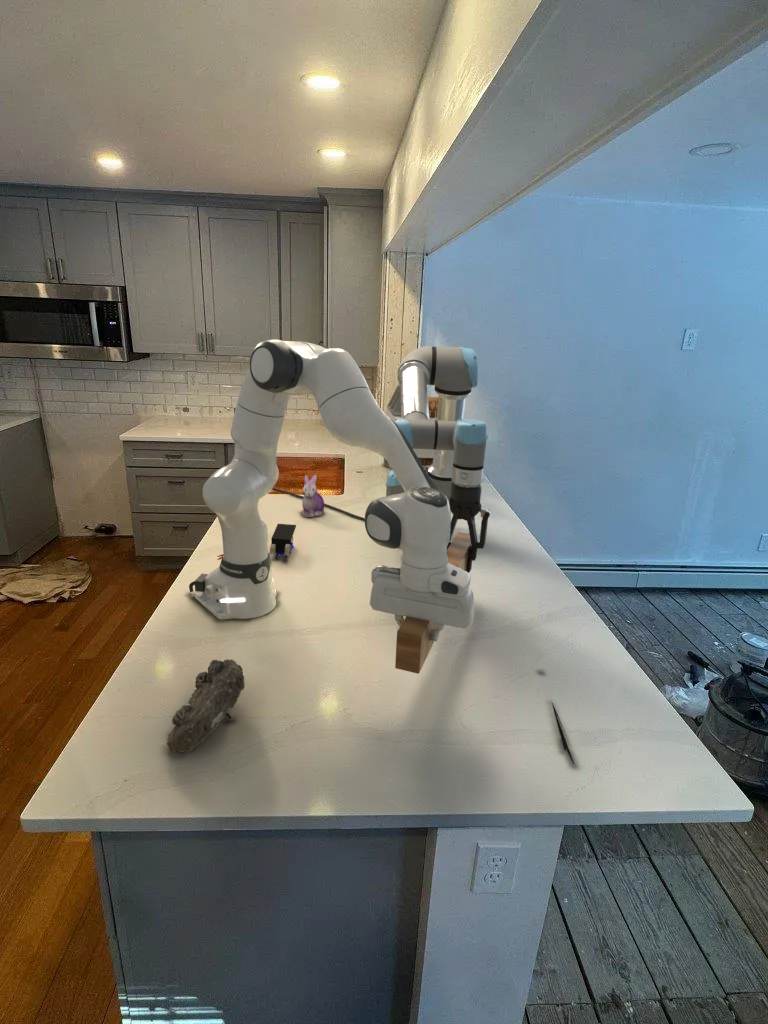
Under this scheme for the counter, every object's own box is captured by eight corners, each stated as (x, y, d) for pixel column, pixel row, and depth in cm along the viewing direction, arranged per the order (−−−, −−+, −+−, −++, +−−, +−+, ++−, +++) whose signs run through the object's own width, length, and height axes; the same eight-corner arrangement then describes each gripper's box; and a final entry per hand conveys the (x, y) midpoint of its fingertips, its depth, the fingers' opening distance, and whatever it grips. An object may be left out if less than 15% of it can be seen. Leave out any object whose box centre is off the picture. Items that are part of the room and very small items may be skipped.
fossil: (192, 660, 117) (244, 628, 112) (224, 691, 120) (276, 661, 115) (142, 746, 98) (202, 712, 93) (182, 779, 101) (242, 748, 96)
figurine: (305, 519, 209) (305, 480, 204) (296, 510, 217) (296, 472, 212) (329, 516, 213) (330, 478, 208) (319, 507, 222) (319, 470, 216)
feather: (541, 676, 126) (546, 670, 126) (574, 768, 100) (581, 761, 99) (535, 672, 126) (540, 666, 126) (566, 764, 100) (573, 756, 99)
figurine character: (291, 566, 174) (297, 542, 188) (290, 545, 171) (296, 522, 184) (269, 566, 174) (276, 541, 187) (268, 544, 171) (275, 521, 184)
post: (455, 558, 156) (457, 531, 153) (472, 561, 154) (475, 534, 152) (395, 668, 107) (397, 631, 104) (419, 673, 105) (421, 636, 103)
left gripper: (366, 570, 107) (364, 633, 112) (472, 590, 101) (466, 656, 106) (377, 557, 113) (375, 618, 118) (479, 575, 107) (472, 639, 112)
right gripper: (427, 482, 140) (421, 568, 147) (500, 492, 134) (489, 581, 142) (435, 475, 146) (429, 557, 154) (505, 484, 141) (494, 569, 149)
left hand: (419, 636), depth 112 cm, fingers closed on post, 5 cm apart
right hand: (458, 568), depth 148 cm, fingers closed on post, 5 cm apart
